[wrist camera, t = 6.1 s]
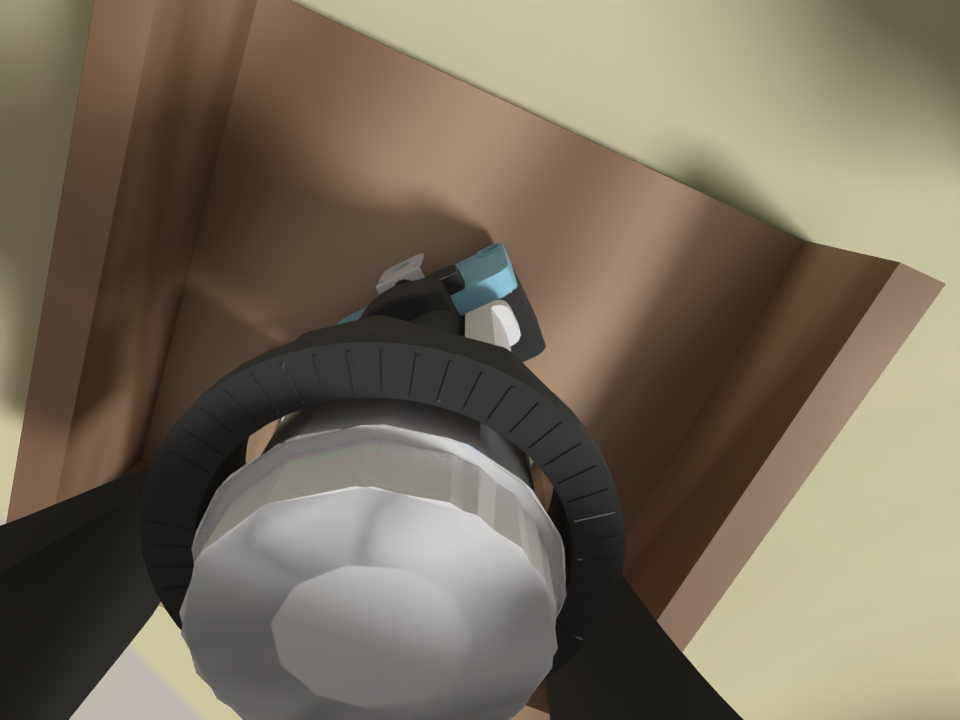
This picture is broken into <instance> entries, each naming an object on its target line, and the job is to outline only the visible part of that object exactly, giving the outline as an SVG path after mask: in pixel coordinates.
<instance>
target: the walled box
mask: <svg viewBox="0 0 960 720" xmlns="http://www.w3.org/2000/svg"><path fill="white" fill-rule="evenodd" d="M496 243H502V244H503V246H504V248H505V250H506V253H507V255H508V257H509V259H510V261H511V263H512V266H513V268H514V270H515V272H516V274H517V276H518V278H519V281H520V283H521V285H522V287H523V289H524V291H525V293H526V296H527V298H528V300H529V302H530V304H531V306H532V308H533V311H534V313H535V315H536V318H537V321H538V324H539V327H540V330H541V333H542V336H543V339H544V342H545V345H546V347H545V349H544V351H543V352H542V353H540V354H539V355H537V356H536V357H534V358H531V359H529V360H527V361H525V362H523V363H524V364H525V365H526V366H527V367H528V368H529V369H530V370H531V371H532V372H533V373H534V374H535V375H536V376H537V377H538V378H539V379H540V380H541V381H542V382H543V383H544V384H545V385H546V386H547V387H548V388H549V389H550V390H551V391H552V392H553V393H555V394H556V395H557V396H558V397H559V398H560V399H561V400H562V401H563V402H564V403H565V404H566V405H567V406H568V407H569V408H570V409H571V410H572V411H573V412H574V414H575V415H576V416H577V417H578V419H579V420H580V421H581V422H582V424H583V425H584V426H585V427H586V429H587V430H588V432H589V433H590V435H591V436H592V438H593V440H594V441H595V443H596V444H597V446H598V448H599V450H600V452H601V454H602V456H603V458H604V461H605V463H606V465H607V467H608V469H609V472H610V474H611V477H612V480H613V482H614V485H615V487H616V491H617V494H618V497H619V500H620V504H621V507H622V513H623V519H624V525H625V556H624V565H623V571H622V575H623V576H624V578H625V579H626V580H627V582H628V583H629V585H630V586H631V587H632V589H633V590H634V592H635V593H636V594H637V596H638V597H639V598H640V600H641V601H642V602H643V604H644V605H645V606H646V608H647V609H648V610H649V612H650V613H651V614H652V616H653V617H654V618H655V620H656V621H657V622H658V623H659V625H660V626H661V627H662V629H663V630H664V631H665V632H666V634H667V635H668V636H669V637H670V638H671V640H672V641H673V642H674V643H675V645H676V646H677V647H678V648H679V649H680V651H681V652H683V651H684V649H685V648H686V646H687V645H688V644H689V642H690V641H691V639H692V638H693V637H694V635H695V634H696V632H697V631H698V630H699V628H700V627H701V625H702V624H703V623H704V621H705V620H706V618H707V617H708V616H709V614H710V613H711V611H712V610H713V609H714V607H715V606H716V604H717V603H718V602H719V600H720V599H721V597H722V596H723V595H724V593H725V592H726V590H727V589H728V588H729V586H730V585H731V583H732V582H733V581H734V579H735V578H736V576H737V575H738V574H739V572H740V571H741V569H742V568H743V567H744V565H745V564H746V562H747V561H748V560H749V558H750V557H751V555H752V554H753V553H754V551H755V550H756V548H757V547H758V546H759V544H760V543H761V541H762V540H763V539H764V537H765V536H766V534H767V533H768V532H769V530H770V529H771V528H772V526H773V525H774V523H775V522H776V521H777V519H778V518H779V516H780V515H781V514H782V512H783V511H784V509H785V508H786V507H787V505H788V504H789V502H790V501H791V500H792V498H793V497H794V495H795V494H796V493H797V491H798V490H799V488H800V487H801V486H802V484H803V483H804V481H805V480H806V479H807V477H808V476H809V474H810V473H811V472H812V470H813V469H814V467H815V466H816V465H817V463H818V462H819V460H820V459H821V458H822V456H823V455H824V453H825V452H826V451H827V449H828V448H829V446H830V445H831V444H832V442H833V441H834V439H835V438H836V437H837V435H838V434H839V432H840V431H841V430H842V428H843V427H844V425H845V424H846V423H847V421H848V420H849V418H850V417H851V416H852V414H853V413H854V411H855V410H856V409H857V407H858V406H859V404H860V403H861V402H862V400H863V399H864V397H865V396H866V395H867V393H868V392H869V390H870V389H871V388H872V386H873V385H874V384H875V382H876V381H877V379H878V378H879V377H880V375H881V374H882V372H883V371H884V370H885V368H886V367H887V365H888V364H889V363H890V361H891V360H892V358H893V357H894V356H895V354H896V353H897V351H898V350H899V349H900V347H901V346H902V344H903V343H904V342H905V340H906V339H907V337H908V336H909V335H910V333H911V332H912V330H913V329H914V328H915V326H916V325H917V323H918V322H919V321H920V319H921V318H922V316H923V315H924V314H925V312H926V311H927V309H928V308H929V307H930V305H931V304H932V302H933V301H934V300H935V298H936V297H937V295H938V294H939V293H940V291H941V290H942V288H943V287H944V286H945V283H943V282H941V281H938V280H936V279H934V278H932V277H930V276H928V275H926V274H923V273H921V272H919V271H917V270H915V269H913V268H911V267H909V266H906V265H904V264H902V263H900V262H896V261H891V260H887V259H882V258H878V257H874V256H869V255H865V254H860V253H856V252H852V251H847V250H843V249H839V248H834V247H830V246H825V245H821V244H817V243H812V242H808V241H804V240H802V239H800V238H798V237H796V236H793V235H791V234H789V233H787V232H785V231H783V230H780V229H778V228H776V227H774V226H772V225H770V224H768V223H765V222H763V221H761V220H759V219H757V218H755V217H753V216H750V215H748V214H746V213H744V212H742V211H740V210H737V209H735V208H733V207H731V206H729V205H727V204H725V203H722V202H720V201H718V200H716V199H714V198H712V197H710V196H707V195H705V194H703V193H701V192H699V191H697V190H695V189H692V188H690V187H688V186H686V185H684V184H682V183H679V182H677V181H675V180H673V179H671V178H669V177H667V176H664V175H662V174H660V173H658V172H656V171H654V170H652V169H649V168H647V167H645V166H643V165H641V164H639V163H636V162H634V161H632V160H630V159H628V158H626V157H624V156H621V155H619V154H617V153H615V152H613V151H611V150H609V149H606V148H604V147H602V146H600V145H598V144H596V143H593V142H591V141H589V140H587V139H585V138H583V137H581V136H578V135H576V134H574V133H572V132H570V131H568V130H566V129H563V128H561V127H559V126H557V125H555V124H553V123H551V122H548V121H546V120H544V119H542V118H540V117H538V116H535V115H533V114H531V113H529V112H527V111H525V110H523V109H520V108H518V107H516V106H514V105H512V104H510V103H508V102H505V101H503V100H501V99H499V98H497V97H495V96H492V95H490V94H488V93H486V92H484V91H482V90H480V89H477V88H475V87H473V86H471V85H469V84H467V83H465V82H462V81H460V80H458V79H456V78H454V77H452V76H449V75H447V74H445V73H443V72H441V71H439V70H437V69H434V68H432V67H430V66H428V65H426V64H424V63H422V62H419V61H417V60H415V59H413V58H411V57H409V56H407V55H404V54H402V53H400V52H398V51H396V50H394V49H391V48H389V47H387V46H385V45H383V44H381V43H379V42H376V41H374V40H372V39H370V38H368V37H366V36H364V35H361V34H359V33H357V32H355V31H353V30H351V29H348V28H346V27H344V26H342V25H340V24H338V23H336V22H333V21H331V20H329V19H327V18H325V17H323V16H321V15H318V14H316V13H314V12H312V11H310V10H308V9H305V8H303V7H301V6H299V5H297V4H295V3H293V2H290V1H288V0H95V1H94V7H93V13H92V19H91V24H90V30H89V36H88V42H87V48H86V54H85V60H84V66H83V72H82V78H81V84H80V90H79V95H78V101H77V107H76V113H75V119H74V125H73V131H72V137H71V143H70V149H69V155H68V161H67V166H66V172H65V178H64V184H63V190H62V196H61V202H60V208H59V214H58V220H57V226H56V232H55V237H54V243H53V249H52V255H51V261H50V267H49V273H48V279H47V285H46V291H45V297H44V303H43V308H42V314H41V320H40V326H39V332H38V338H37V344H36V350H35V356H34V362H33V368H32V374H31V379H30V385H29V391H28V397H27V403H26V409H25V415H24V421H23V427H22V433H21V439H20V445H19V450H18V456H17V462H16V468H15V474H14V480H13V486H12V492H11V498H10V504H9V510H8V516H7V521H6V523H9V522H12V521H15V520H17V519H20V518H22V517H25V516H27V515H30V514H32V513H35V512H37V511H40V510H42V509H45V508H47V507H49V506H52V505H54V504H57V503H59V502H62V501H64V500H67V499H69V498H72V497H74V496H77V495H79V494H81V493H84V492H86V491H89V490H91V489H94V488H96V487H98V486H101V485H103V484H106V483H108V482H111V481H113V480H116V479H118V478H121V477H124V476H126V475H129V474H132V473H134V472H137V471H140V470H143V469H146V468H149V467H150V464H151V462H152V460H153V458H154V456H155V454H156V452H157V450H158V448H159V446H160V445H161V443H162V442H163V440H164V439H165V437H166V436H167V434H168V433H169V431H170V430H171V428H172V427H173V426H174V425H175V423H176V422H177V421H178V420H179V419H180V418H181V417H182V416H183V414H184V413H185V412H186V411H187V410H188V409H189V408H190V407H191V406H192V405H193V404H194V403H195V402H196V401H197V400H198V398H199V397H200V396H201V395H202V394H203V393H204V392H206V391H207V390H208V389H209V388H210V387H211V386H213V385H214V384H215V383H216V382H217V381H218V380H219V379H221V378H222V377H223V376H225V375H226V374H228V373H229V372H231V371H232V370H234V369H235V368H237V367H238V366H240V365H241V364H243V363H245V362H247V361H249V360H250V359H252V358H254V357H256V356H258V355H260V354H262V353H264V352H266V351H269V350H271V349H274V348H277V347H279V346H282V345H285V344H287V343H290V342H293V341H295V340H296V339H297V338H298V337H299V336H300V335H302V334H304V333H306V332H309V331H313V330H317V329H321V328H325V327H330V326H334V325H336V324H337V323H338V322H339V321H341V320H342V319H344V318H345V317H347V316H349V315H351V314H353V313H355V312H357V311H359V310H361V309H363V308H365V307H367V306H368V305H369V304H370V303H371V302H372V301H373V300H374V299H375V298H376V297H378V296H379V295H380V294H379V293H378V291H377V289H376V285H378V282H379V280H380V278H381V276H382V274H383V273H384V272H385V271H386V270H388V269H389V268H391V267H393V266H395V265H397V264H399V263H401V262H403V261H405V260H407V259H409V258H411V257H413V256H415V255H417V254H421V253H423V254H424V258H423V261H422V264H421V266H419V267H420V269H421V271H422V273H423V275H424V277H426V276H428V275H431V274H433V273H435V272H437V271H439V270H441V269H443V268H445V267H448V266H451V265H454V264H456V263H458V262H461V261H463V260H465V259H467V258H469V257H471V256H473V255H475V254H477V252H478V251H480V250H482V249H484V248H487V247H489V246H491V245H493V244H496ZM404 267H405V266H404ZM402 268H403V267H402ZM400 269H401V268H400ZM284 417H285V416H284ZM284 417H282V418H280V419H278V420H275V421H273V422H271V423H269V424H267V425H266V426H264V427H263V428H261V429H260V430H258V431H257V432H255V433H253V434H252V435H250V437H249V440H248V445H247V453H246V464H248V463H249V462H251V461H252V460H254V459H255V458H257V457H258V456H260V455H261V454H262V452H263V451H264V449H265V447H266V446H267V444H268V443H269V441H270V439H271V438H272V436H273V434H274V433H275V431H276V430H277V428H278V426H279V425H280V423H281V422H282V420H283V418H284ZM530 464H531V471H532V478H533V484H534V491H535V495H536V496H537V498H538V500H539V501H540V503H541V504H542V506H543V508H544V509H545V511H546V513H547V512H548V509H549V506H550V502H551V498H552V494H553V485H552V484H551V482H550V481H549V479H548V478H547V477H546V475H545V474H544V473H543V471H542V470H541V469H540V468H539V466H538V465H537V464H536V463H535V462H534V461H533V460H532V459H531V458H530ZM159 606H162V607H164V606H163V604H162V602H160V604H159ZM510 720H550V715H549V707H548V698H547V690H546V681H545V679H544V680H543V681H542V682H541V683H540V684H539V686H538V687H537V688H536V690H535V691H534V692H533V694H532V695H531V697H530V699H529V700H528V702H527V704H526V706H525V707H524V709H523V710H521V711H520V712H518V714H517V715H516V716H515V717H513V718H511V719H510Z"/></svg>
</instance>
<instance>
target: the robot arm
mask: <svg viewBox="0 0 960 720" xmlns="http://www.w3.org/2000/svg"><path fill="white" fill-rule="evenodd" d="M148 469H149V468H146V469H143V470H140V471H137V472H134V473H132V474H129V475H126V476H124V477H121V478H118V479H116V480H113V481H111V482H108V483H106V484H103V485H101V486H98V487H96V488H94V489H91V490H89V491H86V492H84V493H81V494H79V495H77V496H74V497H72V498H69V499H67V500H64V501H62V502H59V503H57V504H54V505H52V506H49V507H47V508H45V509H42V510H40V511H37V512H35V513H32V514H30V515H27V516H25V517H22V518H20V519H17V520H15V521H12V522H9V523H6V524H4V525H1V526H0V720H69V719H70V717H71V716H72V715H73V714H74V712H75V711H76V710H77V709H78V707H79V706H80V705H81V704H82V702H83V701H84V700H85V699H86V697H87V696H88V695H89V693H90V692H91V691H92V690H93V689H94V687H95V686H96V685H97V684H98V682H99V681H100V680H101V679H102V678H103V676H104V675H105V674H106V673H107V671H108V670H109V669H110V668H111V666H112V665H113V664H114V663H115V661H116V660H117V659H118V658H119V656H120V655H121V654H122V653H123V651H124V650H125V649H126V648H127V646H128V645H129V644H130V643H131V641H132V640H133V639H134V638H135V636H136V635H137V634H138V632H139V631H140V630H141V629H142V627H143V626H144V625H145V624H146V622H147V621H148V620H149V618H150V617H151V616H152V614H153V613H154V611H155V610H156V608H157V607H158V605H159V604H160V602H161V600H160V599H159V597H158V595H157V593H156V591H155V590H154V587H153V585H152V582H151V580H150V577H149V575H148V572H147V569H146V566H145V562H144V558H143V554H142V550H141V542H140V534H139V508H140V501H141V495H142V489H143V485H144V482H145V479H146V476H147V473H148ZM545 681H546V690H547V698H548V707H549V715H550V720H743V719H742V718H741V717H740V716H739V715H738V714H737V713H736V712H735V711H734V710H733V709H732V708H731V706H730V705H729V704H728V703H727V702H726V701H725V700H724V699H723V698H722V697H721V696H720V695H719V694H718V693H717V692H716V691H715V690H714V689H713V687H712V686H711V685H710V684H709V683H708V682H707V681H706V680H705V679H704V678H703V676H702V675H701V674H700V673H699V672H698V671H697V669H696V668H695V667H694V666H693V665H692V664H691V662H690V661H689V660H688V659H687V658H686V656H685V655H684V654H683V653H682V652H681V651H680V649H679V648H678V647H677V646H676V645H675V643H674V642H673V641H672V640H671V638H670V637H669V636H668V635H667V634H666V632H665V631H664V630H663V629H662V627H661V626H660V625H659V623H658V622H657V621H656V620H655V618H654V617H653V616H652V614H651V613H650V612H649V610H648V609H647V608H646V606H645V605H644V604H643V602H642V601H641V600H640V598H639V597H638V596H637V594H636V593H635V592H634V590H633V589H632V587H631V586H630V585H629V583H628V582H627V580H626V579H625V578H624V576H623V575H621V579H620V583H619V587H618V589H617V592H616V594H615V597H614V599H613V602H612V605H611V606H610V608H609V610H608V612H607V614H606V616H605V617H604V619H603V621H602V623H601V624H600V626H599V627H598V628H597V630H596V631H595V633H594V634H593V635H592V637H591V638H590V639H589V640H588V642H587V643H586V644H585V645H584V646H583V647H582V648H581V649H580V651H579V652H578V653H577V654H576V655H574V656H573V657H572V658H571V659H570V660H569V661H568V662H567V663H566V664H565V665H564V666H562V667H561V668H560V669H558V670H557V671H556V672H554V673H553V674H552V675H550V676H549V677H548V678H546V679H545Z"/></svg>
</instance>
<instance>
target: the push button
mask: <svg viewBox="0 0 960 720" xmlns="http://www.w3.org/2000/svg"><path fill="white" fill-rule="evenodd" d="M423 258H424V254H423V253H421V254H417V255H415V256H413V257H411V258H409V259H407V260H405V261H403V262H401V263H399V264H397V265H395V266H393V267H391V268H389V269H388V270H386V271H385V272H384V273H383V274H382V276H381V278H380V280H379V282H378V285H376V289H377V291H378V293H379V294H380V295H379V296H378V297H376V298H375V299H374V300H373V301H372V302H371V303H370V304H369V305H368V306H367V307H365V308H363V309H361V310H359V311H357V312H355V313H353V314H351V315H349V316H347V317H345V318H344V319H342V320H341V321H339V322H338V323H337V324H336V325H334V326H330V327H325V328H321V329H317V330H313V331H309V332H306V333H304V334H302V335H300V336H299V337H298V338H297V339H296V340H295V341H293V342H290V343H287V344H285V345H282V346H279V347H277V348H274V349H271V350H269V351H266V352H264V353H262V354H260V355H258V356H256V357H254V358H252V359H250V360H249V361H247V362H245V363H243V364H241V365H240V366H238V367H237V368H235V369H234V370H232V371H231V372H229V373H228V374H226V375H225V376H223V377H222V378H221V379H219V380H218V381H217V382H216V383H215V384H214V385H213V386H211V387H210V388H209V389H208V390H207V391H206V392H204V393H203V394H202V395H201V396H200V397H199V398H198V400H197V401H196V402H195V403H194V404H193V405H192V406H191V407H190V408H189V409H188V410H187V411H186V412H185V413H184V414H183V416H182V417H181V418H180V419H179V420H178V421H177V422H176V423H175V425H174V426H173V427H172V428H171V430H170V431H169V433H168V434H167V436H166V437H165V439H164V440H163V442H162V443H161V445H160V446H159V448H158V450H157V452H156V454H155V456H154V458H153V460H152V462H151V464H150V467H149V469H148V473H147V476H146V479H145V482H144V485H143V489H142V495H141V501H140V508H139V534H140V542H141V550H142V554H143V558H144V562H145V566H146V569H147V572H148V575H149V577H150V580H151V582H152V585H153V587H154V590H155V591H156V593H157V595H158V597H159V599H160V600H161V602H162V604H163V606H164V608H165V609H166V611H167V612H168V613H169V615H170V616H171V618H172V619H173V621H174V622H175V623H176V625H177V626H178V627H179V628H180V629H181V630H182V631H181V635H182V637H183V638H184V640H185V642H186V644H187V646H188V647H189V649H190V652H191V656H192V659H193V662H194V666H195V669H196V673H197V674H198V675H199V676H200V677H201V678H202V679H203V680H204V681H205V682H206V683H207V684H208V685H209V686H210V687H211V688H212V690H213V692H214V694H215V696H216V697H217V699H218V700H220V701H222V702H223V703H225V704H226V705H228V706H229V707H231V708H232V709H233V710H234V711H235V712H236V713H237V714H238V715H239V716H240V717H241V718H242V719H243V720H510V719H511V718H513V717H515V716H516V715H517V714H518V712H520V711H521V710H523V709H524V707H525V706H526V704H527V702H528V700H529V699H530V697H531V695H532V694H533V692H534V691H535V690H536V688H537V687H538V686H539V684H540V683H541V682H542V681H543V680H544V679H546V678H548V677H549V676H550V675H552V674H553V673H554V672H556V671H557V670H558V669H560V668H561V667H562V666H564V665H565V664H566V663H567V662H568V661H569V660H570V659H571V658H572V657H573V656H574V655H576V654H577V653H578V652H579V651H580V649H581V648H582V647H583V646H584V645H585V644H586V643H587V642H588V640H589V639H590V638H591V637H592V635H593V634H594V633H595V631H596V630H597V628H598V627H599V626H600V624H601V623H602V621H603V619H604V617H605V616H606V614H607V612H608V610H609V608H610V606H611V605H612V602H613V599H614V597H615V594H616V592H617V589H618V587H619V583H620V579H621V575H622V571H623V565H624V556H625V525H624V519H623V513H622V507H621V504H620V500H619V497H618V494H617V491H616V487H615V485H614V482H613V480H612V477H611V474H610V472H609V469H608V467H607V465H606V463H605V461H604V458H603V456H602V454H601V452H600V450H599V448H598V446H597V444H596V443H595V441H594V440H593V438H592V436H591V435H590V433H589V432H588V430H587V429H586V427H585V426H584V425H583V424H582V422H581V421H580V420H579V419H578V417H577V416H576V415H575V414H574V412H573V411H572V410H571V409H570V408H569V407H568V406H567V405H566V404H565V403H564V402H563V401H562V400H561V399H560V398H559V397H558V396H557V395H556V394H555V393H553V392H552V391H551V390H550V389H549V388H548V387H547V386H546V385H545V384H544V383H543V382H542V381H541V380H540V379H539V378H538V377H537V376H536V375H535V374H534V373H533V372H532V371H531V370H530V369H529V368H528V367H527V366H526V365H525V364H524V363H523V362H525V361H527V360H529V359H531V358H534V357H536V356H537V355H539V354H540V353H542V352H543V351H544V349H545V347H546V345H545V342H544V339H543V336H542V333H541V330H540V327H539V324H538V321H537V318H536V315H535V313H534V311H533V308H532V306H531V304H530V302H529V300H528V298H527V296H526V293H525V291H524V289H523V287H522V285H521V283H520V281H519V278H518V276H517V274H516V272H515V270H514V268H513V266H512V263H511V261H510V259H509V257H508V255H507V253H506V250H505V248H504V246H503V244H502V243H496V244H493V245H491V246H489V247H487V248H484V249H482V250H480V251H478V252H477V254H475V255H473V256H471V257H469V258H467V259H465V260H463V261H461V262H458V263H456V264H454V265H451V266H448V267H445V268H443V269H441V270H439V271H437V272H435V273H433V274H431V275H428V276H426V277H424V275H423V273H422V271H421V269H420V267H419V266H421V264H422V261H423ZM404 266H405V267H404ZM402 267H403V268H402ZM400 268H401V269H400ZM284 416H285V417H284ZM282 417H284V418H283V420H282V422H281V423H280V425H279V426H278V428H277V430H276V431H275V433H274V434H273V436H272V438H271V439H270V441H269V443H268V444H267V446H266V447H265V449H264V451H263V452H262V454H261V455H260V456H258V457H257V458H255V459H254V460H252V461H251V462H249V463H248V464H246V453H247V445H248V440H249V437H250V435H252V434H253V433H255V432H257V431H258V430H260V429H261V428H263V427H264V426H266V425H267V424H269V423H271V422H273V421H275V420H278V419H280V418H282ZM530 458H531V459H532V460H533V461H534V462H535V463H536V464H537V465H538V466H539V468H540V469H541V470H542V471H543V473H544V474H545V475H546V477H547V478H548V479H549V481H550V482H551V484H552V485H553V494H552V498H551V502H550V506H549V509H548V512H547V513H546V511H545V509H544V508H543V506H542V504H541V503H540V501H539V500H538V498H537V496H536V495H535V491H534V484H533V478H532V471H531V464H530Z"/></svg>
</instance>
